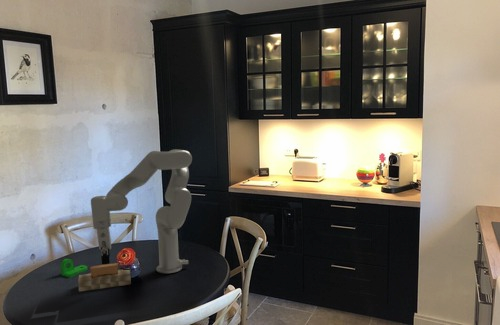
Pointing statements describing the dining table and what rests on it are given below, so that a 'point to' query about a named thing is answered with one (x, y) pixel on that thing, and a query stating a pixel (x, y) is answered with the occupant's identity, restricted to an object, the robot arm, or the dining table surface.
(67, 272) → the mechanical part
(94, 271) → the brown piece
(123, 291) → the dining table surface
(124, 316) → the dining table surface
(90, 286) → the rail
